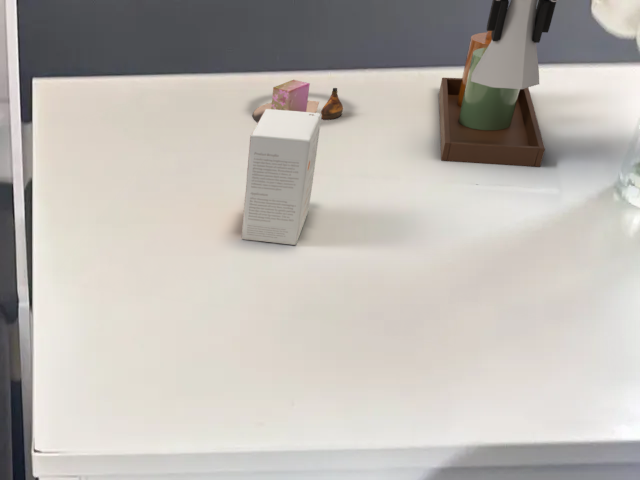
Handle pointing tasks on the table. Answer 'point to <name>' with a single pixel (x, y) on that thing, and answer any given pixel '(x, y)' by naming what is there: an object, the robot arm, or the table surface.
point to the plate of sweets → (299, 101)
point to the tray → (489, 133)
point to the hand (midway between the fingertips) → (515, 37)
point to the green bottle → (486, 102)
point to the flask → (512, 51)
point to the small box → (280, 175)
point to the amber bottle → (475, 43)
